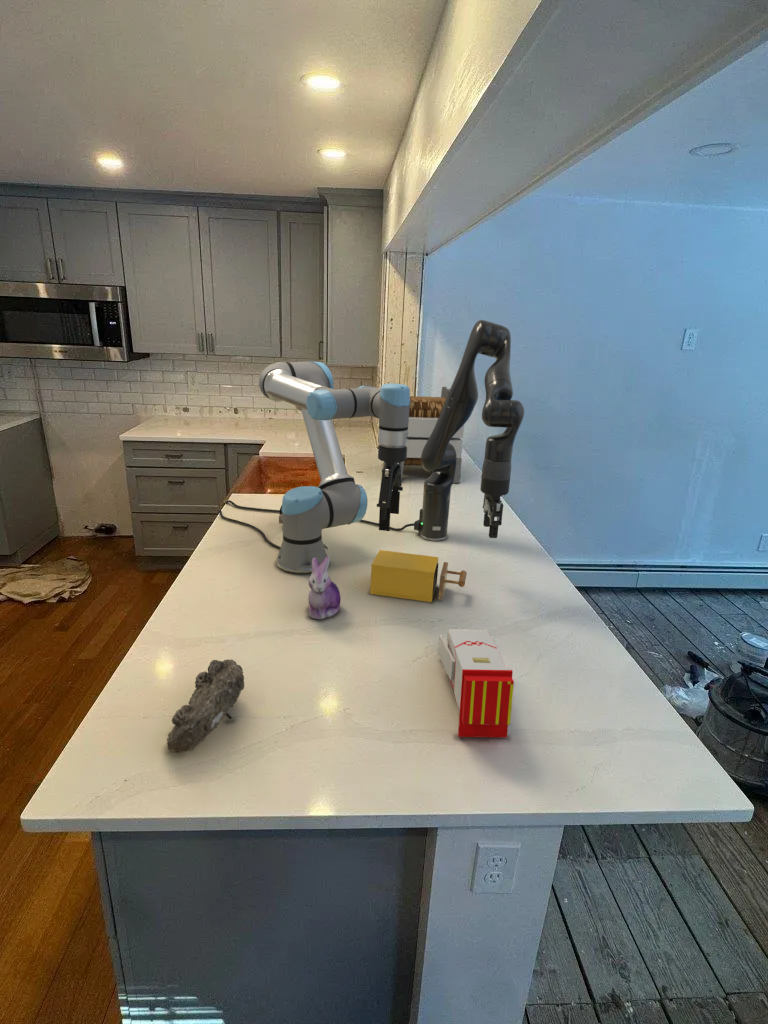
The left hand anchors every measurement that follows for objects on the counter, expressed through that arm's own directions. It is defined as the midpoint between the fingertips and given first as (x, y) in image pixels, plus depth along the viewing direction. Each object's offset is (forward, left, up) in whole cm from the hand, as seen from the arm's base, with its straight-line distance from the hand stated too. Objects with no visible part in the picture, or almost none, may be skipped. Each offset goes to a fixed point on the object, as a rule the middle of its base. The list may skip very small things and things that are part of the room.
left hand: (389, 521), depth 154 cm
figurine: (-8, -20, -20) cm, 30 cm away
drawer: (+11, +3, -19) cm, 22 cm away
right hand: (+25, +13, -2) cm, 28 cm away
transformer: (-37, +116, -20) cm, 123 cm away
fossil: (-6, -65, -20) cm, 68 cm away
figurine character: (-52, +28, -20) cm, 62 cm away
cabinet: (+5, +1, -20) cm, 21 cm away
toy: (+35, -34, -20) cm, 53 cm away
